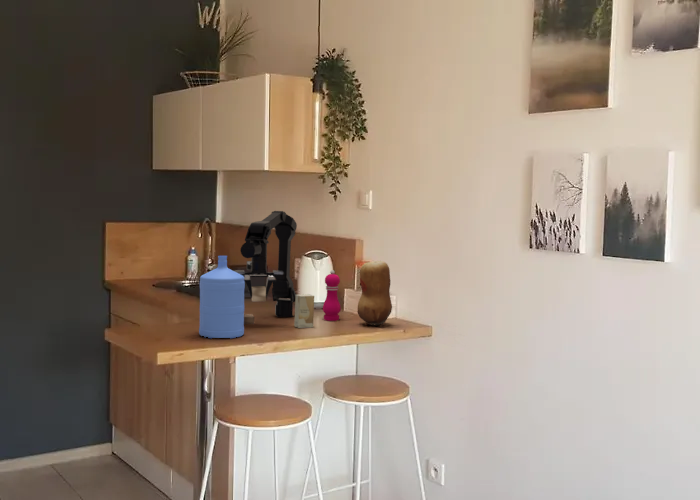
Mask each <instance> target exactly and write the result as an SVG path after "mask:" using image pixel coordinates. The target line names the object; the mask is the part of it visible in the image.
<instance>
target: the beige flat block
mask: <svg viewBox="0 0 700 500" xmlns="http://www.w3.org/2000/svg"><path fill="white" fill-rule="evenodd" d="M244 325H255V316H254V315H253V313H244Z"/></svg>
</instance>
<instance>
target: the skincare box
mask: <svg viewBox="0 0 700 500" xmlns="http://www.w3.org/2000/svg"><path fill="white" fill-rule="evenodd" d="M294 304H295V305H294V322H293V324H294V325H293V326H294V327H295V328H298V329H304V328H305V329H306V328H314V317H315V316H314V315H315V314H314V313H315V295H313V294H309V293H307V294H304V293H303V294H296V298H295V302H294Z"/></svg>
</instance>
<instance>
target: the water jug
mask: <svg viewBox="0 0 700 500" xmlns="http://www.w3.org/2000/svg"><path fill="white" fill-rule="evenodd" d="M227 259H228V255H218V256H217V267H216V268H214V269H212V270H210V271H208V272H206V273H204V274H202V275H201V276H200V277H199V328H198V334H199V336H201V337H202V336H204V337H203V338H206V337H208V338H207V339H212V338H230V339H235V338H236V337H237V338H240V337H242V336H243V335H244V334H245V326H244V325H245V324H244V314H245V287H246V285H245V284H246V282H245V281H244V276H242V275H240V274H239V273H237V272H235V270H232V269H230V267H229V268H228V260H227Z"/></svg>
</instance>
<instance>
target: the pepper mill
mask: <svg viewBox="0 0 700 500" xmlns="http://www.w3.org/2000/svg"><path fill="white" fill-rule="evenodd" d="M340 282H341V279H340V277H339V275H337V274H336V273H335V270H333V269H331V270H330V272H329V274H327V275H326V276H325V278H324V284H325V285H326V286H325V290H326V298H325V300H324V302H323V305H322V312H323V313H324V315H323V320H324V321H328V322H337V320H338V321H340V312H341V309H342V308H341V304H340V301H339V298H338V290H339V286H338V285H339V284H340Z"/></svg>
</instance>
